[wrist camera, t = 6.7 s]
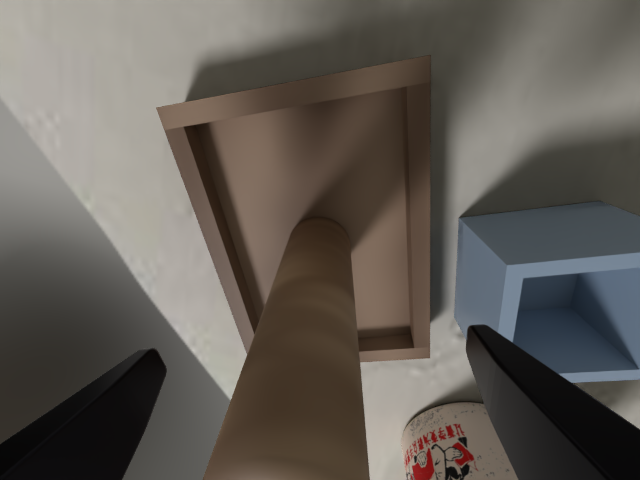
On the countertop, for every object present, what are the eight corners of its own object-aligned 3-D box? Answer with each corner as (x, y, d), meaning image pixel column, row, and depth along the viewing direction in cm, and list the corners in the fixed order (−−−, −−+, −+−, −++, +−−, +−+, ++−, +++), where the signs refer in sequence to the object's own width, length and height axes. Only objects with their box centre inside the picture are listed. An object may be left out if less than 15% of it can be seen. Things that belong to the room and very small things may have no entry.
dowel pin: (346, 212, 13) (363, 452, 4) (353, 268, 14) (378, 543, 5) (282, 220, 14) (173, 458, 5) (295, 274, 15) (228, 542, 6)
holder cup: (600, 200, 13) (715, 245, 9) (571, 307, 16) (651, 379, 12) (458, 217, 14) (507, 265, 10) (454, 316, 17) (490, 386, 13)
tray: (416, 62, 11) (430, 54, 10) (420, 331, 17) (429, 358, 15) (182, 106, 13) (156, 107, 11) (261, 342, 18) (252, 368, 17)
